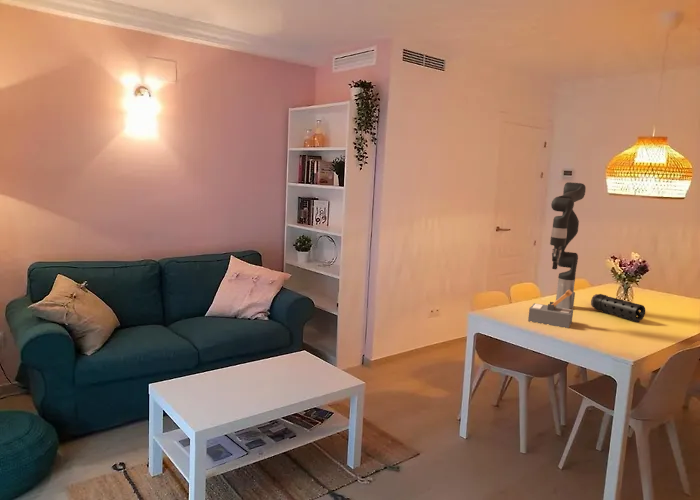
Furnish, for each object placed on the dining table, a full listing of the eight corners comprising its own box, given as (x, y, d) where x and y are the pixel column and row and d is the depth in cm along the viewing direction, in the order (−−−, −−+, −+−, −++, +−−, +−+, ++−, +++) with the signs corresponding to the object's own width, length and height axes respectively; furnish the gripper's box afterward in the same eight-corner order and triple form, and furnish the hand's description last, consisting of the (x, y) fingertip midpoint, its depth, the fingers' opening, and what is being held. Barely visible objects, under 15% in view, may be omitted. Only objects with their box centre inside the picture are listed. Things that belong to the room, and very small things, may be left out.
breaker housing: (528, 321, 275) (529, 302, 273) (533, 315, 287) (534, 298, 285) (568, 328, 265) (570, 309, 264) (571, 322, 277) (573, 304, 276)
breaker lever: (548, 306, 273) (568, 290, 267) (549, 304, 277) (569, 289, 272) (551, 310, 273) (571, 294, 267) (552, 308, 277) (572, 292, 271)
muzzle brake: (633, 323, 281) (635, 305, 279) (588, 310, 305) (590, 293, 304) (644, 322, 285) (646, 303, 284) (599, 309, 310) (601, 292, 308)
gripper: (564, 238, 262) (560, 272, 265) (568, 236, 273) (564, 268, 276) (548, 236, 265) (544, 269, 268) (553, 234, 277) (549, 266, 280)
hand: (554, 269), depth 272 cm, fingers closed
